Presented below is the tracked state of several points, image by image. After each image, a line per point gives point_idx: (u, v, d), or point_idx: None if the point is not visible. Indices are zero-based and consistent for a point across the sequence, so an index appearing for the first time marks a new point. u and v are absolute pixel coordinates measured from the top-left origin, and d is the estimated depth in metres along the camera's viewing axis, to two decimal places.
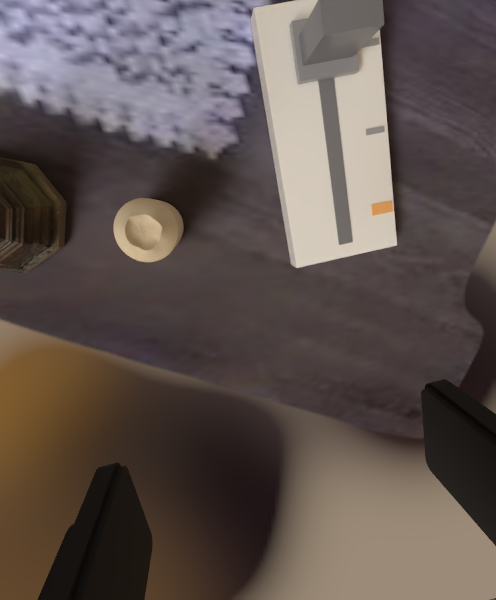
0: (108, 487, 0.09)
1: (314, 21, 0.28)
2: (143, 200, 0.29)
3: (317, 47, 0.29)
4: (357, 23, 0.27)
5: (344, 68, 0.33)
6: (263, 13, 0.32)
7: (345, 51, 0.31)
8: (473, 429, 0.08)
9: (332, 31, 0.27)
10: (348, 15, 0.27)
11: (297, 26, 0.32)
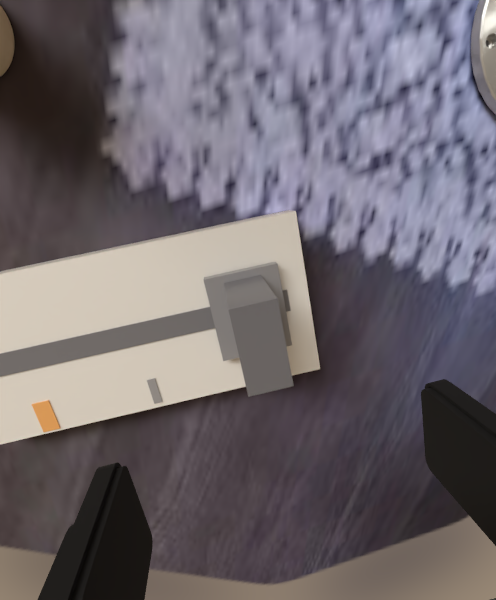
0: (108, 487, 0.09)
1: (257, 294, 0.19)
2: None
3: None
4: (247, 358, 0.18)
5: (224, 341, 0.24)
6: (289, 224, 0.23)
7: None
8: (473, 429, 0.08)
9: (234, 322, 0.17)
10: (256, 344, 0.18)
11: (272, 272, 0.23)
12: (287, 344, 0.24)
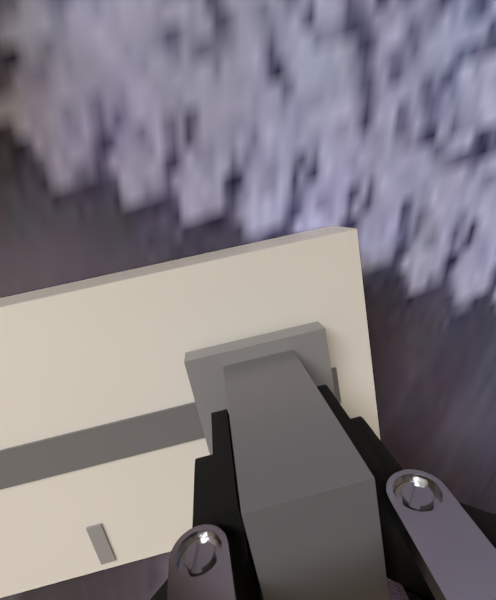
0: (229, 425, 0.10)
1: (305, 433, 0.08)
2: None
3: (233, 441, 0.08)
4: None
5: None
6: (344, 254, 0.13)
7: None
8: None
9: (257, 542, 0.06)
10: (314, 584, 0.07)
11: (314, 343, 0.12)
12: None
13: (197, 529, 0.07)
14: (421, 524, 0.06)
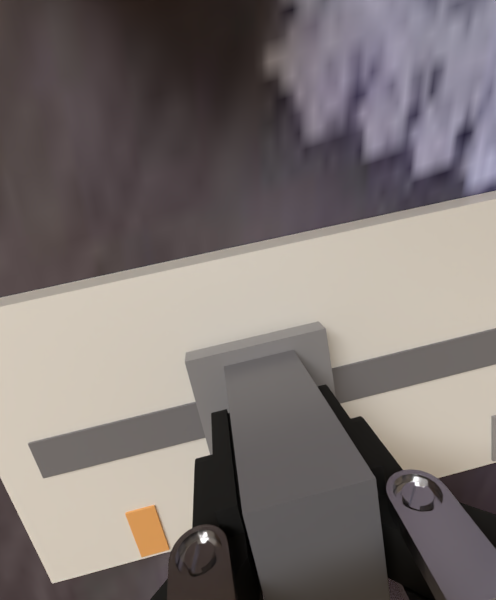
0: (228, 425, 0.10)
1: (306, 433, 0.08)
2: None
3: (234, 441, 0.08)
4: None
5: None
6: None
7: None
8: None
9: (257, 542, 0.06)
10: (316, 585, 0.07)
11: (315, 344, 0.12)
12: None
13: (197, 529, 0.07)
14: (421, 524, 0.06)
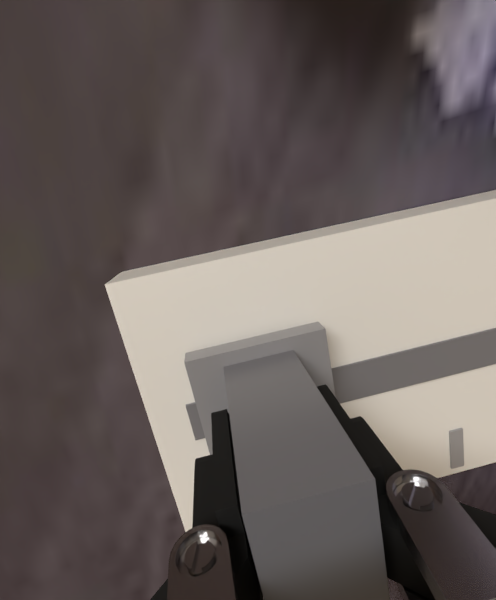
0: (229, 425, 0.10)
1: (305, 433, 0.08)
2: None
3: (233, 441, 0.08)
4: None
5: None
6: None
7: None
8: None
9: (257, 542, 0.06)
10: (315, 585, 0.07)
11: (314, 344, 0.12)
12: None
13: (197, 529, 0.07)
14: (421, 524, 0.06)
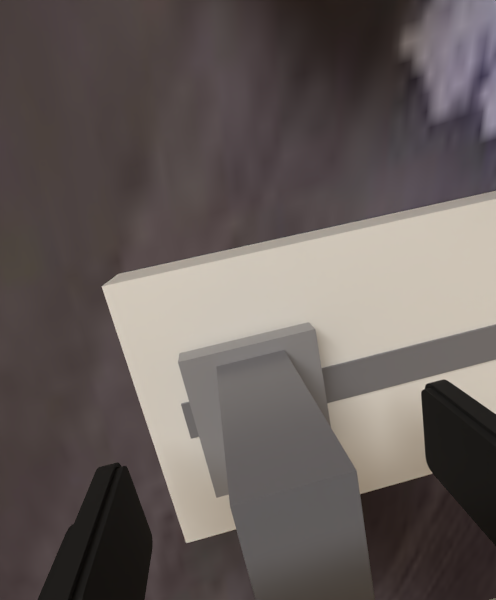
0: (108, 487, 0.09)
1: (293, 429, 0.08)
2: None
3: (224, 437, 0.09)
4: None
5: (218, 465, 0.13)
6: None
7: None
8: (473, 429, 0.08)
9: (244, 532, 0.07)
10: (301, 573, 0.07)
11: (304, 344, 0.12)
12: None
13: None
14: None
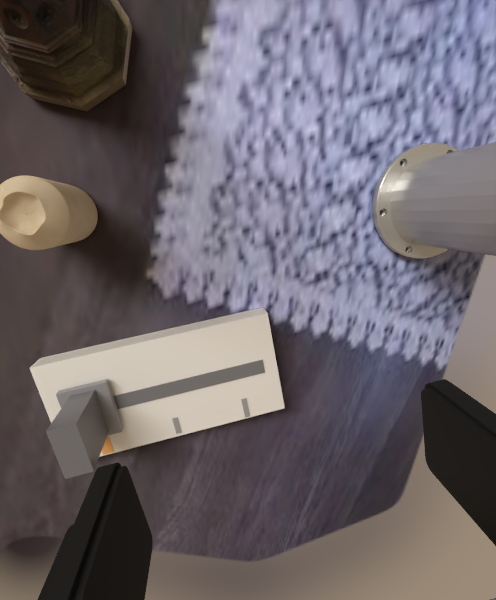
0: (108, 487, 0.09)
1: (72, 415, 0.31)
2: (65, 213, 0.26)
3: (56, 418, 0.31)
4: (61, 457, 0.30)
5: None
6: (263, 321, 0.38)
7: None
8: (473, 429, 0.08)
9: (50, 438, 0.29)
10: (66, 449, 0.30)
11: (102, 387, 0.35)
12: (118, 431, 0.37)
13: None
14: None
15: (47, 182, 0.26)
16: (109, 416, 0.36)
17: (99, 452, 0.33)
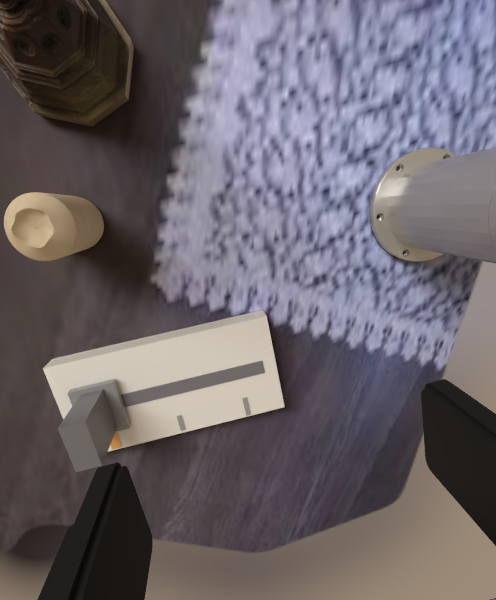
0: (108, 487, 0.09)
1: (82, 413, 0.33)
2: (71, 227, 0.28)
3: (67, 415, 0.34)
4: (72, 452, 0.32)
5: None
6: (263, 323, 0.39)
7: None
8: (473, 429, 0.08)
9: (62, 434, 0.32)
10: (76, 444, 0.32)
11: (110, 387, 0.37)
12: (126, 428, 0.39)
13: None
14: None
15: (55, 198, 0.28)
16: (117, 414, 0.38)
17: (107, 447, 0.35)
